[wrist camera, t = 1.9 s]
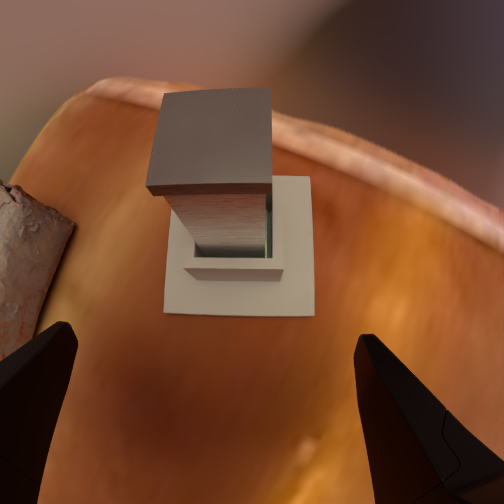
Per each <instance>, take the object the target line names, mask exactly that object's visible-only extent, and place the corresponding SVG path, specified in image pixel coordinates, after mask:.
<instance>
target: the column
mask: <svg viewBox="0 0 504 504" xmlns="http://www.w3.org/2000/svg"><path fill="white" fill-rule="evenodd" d="M146 187H147V188H148V190H149V191H150V192H151V194H152V195H153V196H164V198H165V199H166V201H167V202H168V203H169V205H170V206H171V208H172V209H173V211H174V212H175V214H176V215H177V216H178V218H179V219H180V221H181V222H182V224H183V225H184V226H185V228H186V229H187V231H188V232H189V234H190V235H191V236H192V238H193V239H194V241H195V242H196V243H197V245H198V246H199V248H200V249H201V250H202V252H203V253H204V255H205V256H206V257H207V258H267V209H266V194H272V117H271V88H235V89H234V88H233V89H211V90H196V91H184V92H173V93H164V96H163V100H162V104H161V109H160V113H159V118H158V122H157V127H156V132H155V136H154V141H153V146H152V152H151V157H150V162H149V168H148V174H147V180H146Z"/></svg>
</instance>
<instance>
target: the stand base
mask: <svg viewBox="0 0 504 504" xmlns="http://www.w3.org/2000/svg"><path fill="white" fill-rule="evenodd" d="M266 209H267V258H207V257H206V256H205V255H204V253H203V252H202V250H201V249H200V248H199V246H198V245H197V243H196V242H195V241H194V239H193V238H192V236H191V235H190V234H189V232H188V231H187V229H186V228H185V226H184V225H183V224H182V222H181V221H180V219H179V218H178V216H177V215H176V214H175V212H174V211H173V209H172V211H171V220H170V230H169V241H168V252H167V264H166V278H165V293H164V313H168V314H187V315H212V316H251V317H313V316H314V255H313V227H312V205H311V187H310V176H272V194H266Z"/></svg>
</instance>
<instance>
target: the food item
mask: <svg viewBox="0 0 504 504" xmlns="http://www.w3.org/2000/svg"><path fill="white" fill-rule="evenodd" d="M17 187H18V188H17ZM52 209H54V208H51V207H49V206H44V205H43V204H42V203H40V202H38V201H37V200H36V199H34V198H33V197H32V196H30V195H29V194H27V193H26V192H25V191H23V189H22V188H21V187H20V186H19V185H11V184H7V183H6V182H4V181H2V180H0V357H1V358H3V359H4V357H7V356H9V355H10V354H11V353H13V352H14V351H16V350H17V349H18V348H20V347H21V346H23V345H24V344H26V343H27V342H28V341H30V340H31V339H32V337H33V334H34V331H35V328H36V324H37V320H38V316H39V313H40V311H41V308H42V306H43V302H44V300H45V297H46V294H47V290H48V287H49V285H50V284H51V281H52V278H53V276H54V273H55V271H56V269H57V266H58V264H59V261H60V258H61V255H62V253H63V251H64V248H65V246H66V242H67V240H68V238H69V237H70V235H71V233H72V231H73V228H74V225H75V223H74V222H72V221H70V220H69V219H68V218H66V217H63V216H62V214H60V213H59V212H58V211H57V210H56V209H54V210H56V212H57V213H56V212H55V211H54V210H52Z"/></svg>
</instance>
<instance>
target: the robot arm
mask: <svg viewBox="0 0 504 504" xmlns="http://www.w3.org/2000/svg"><path fill="white" fill-rule="evenodd" d="M77 349H78V340H77V338H76V335H75V333H74V331H73V329H72V327H71V325H70V324H69V323H68V322H62V321H58V322H56V323H55V324H53V325H52V326H50V327H49V328H47V329H46V330H44V331H43V332H41V333H40V334H39V335H37V336H36V337H34V338H33V339H31V340H30V341H28V342H27V343H26V344H24V345H23V346H21V347H20V348H18V349H17V350H16V351H14V352H13V353H11V354H10V355H9V356H7V357H6V358H4V359H3V360H2V361H0V504H37V502H38V496H39V491H40V485H41V481H42V477H43V472H44V468H45V464H46V460H47V456H48V452H49V448H50V444H51V441H52V437H53V434H54V430H55V427H56V423H57V420H58V416H59V413H60V410H61V407H62V404H63V400H64V397H65V394H66V391H67V388H68V385H69V381H70V377H71V373H72V369H73V364H74V360H75V356H76V353H77ZM354 368H355V378H356V389H357V400H358V408H359V413H360V418H361V423H362V428H363V433H364V438H365V444H366V449H367V455H368V460H369V466H370V472H371V478H372V484H373V491H374V497H375V504H504V461H503V460H502V459H501V458H499V457H498V456H497V455H496V454H495V453H494V452H492V451H491V450H490V449H489V448H488V447H487V446H485V445H484V444H483V443H482V442H481V441H480V440H478V439H477V438H476V437H475V436H474V435H473V434H472V433H471V432H470V431H468V430H467V429H466V428H465V427H464V426H463V425H462V424H461V423H460V422H459V421H458V420H457V419H456V418H455V417H454V416H453V415H452V414H451V412H450V411H449V410H446V407H445V406H444V405H443V404H442V403H441V402H440V401H439V400H438V399H437V398H436V397H435V396H434V395H433V394H432V393H431V392H430V391H429V390H428V389H427V387H426V386H425V385H424V384H423V383H422V382H421V381H420V380H419V379H418V378H417V377H416V376H415V375H414V374H413V373H412V372H411V371H410V370H409V369H408V368H407V367H406V366H405V365H404V364H403V363H402V362H401V361H400V360H399V359H398V358H397V357H396V356H395V355H394V354H393V353H392V352H391V351H390V350H389V349H388V348H387V347H386V346H385V345H384V344H383V343H382V342H381V340H380V339H379V338H378V337H377V336H375V335H374V334H362V335H360V336H359V338H358V342H357V345H356V349H355V352H354Z"/></svg>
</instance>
